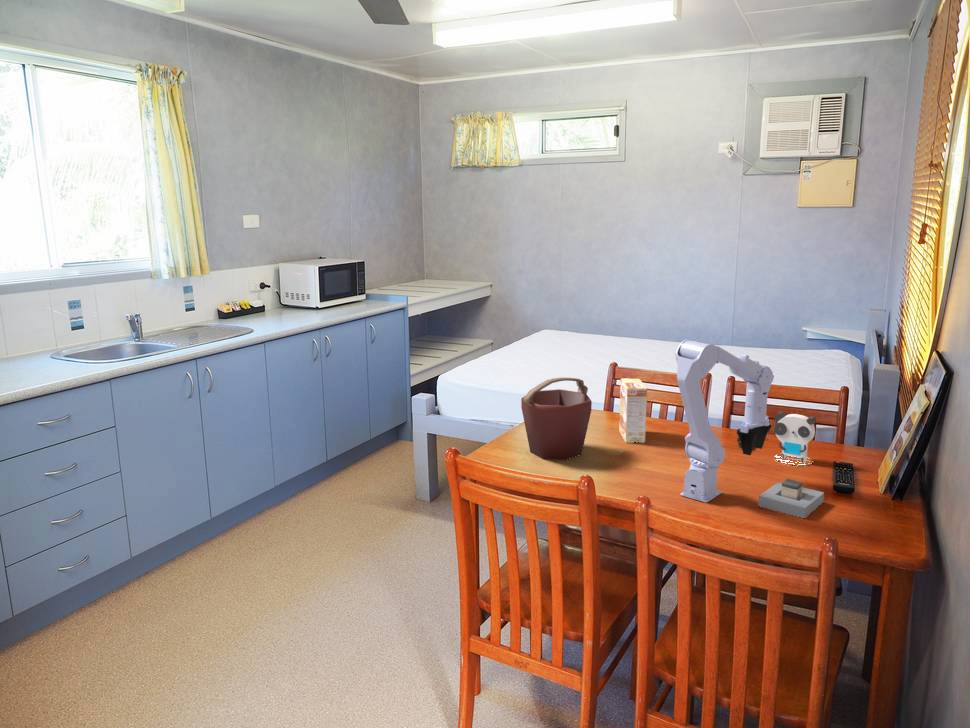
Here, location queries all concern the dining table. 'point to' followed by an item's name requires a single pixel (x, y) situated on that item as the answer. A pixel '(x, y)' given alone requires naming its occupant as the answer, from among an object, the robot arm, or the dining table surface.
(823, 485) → the dining table surface
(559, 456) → the bucket
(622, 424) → the coffeecake box
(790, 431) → the panda figurine
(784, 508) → the socket board
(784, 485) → the peg
